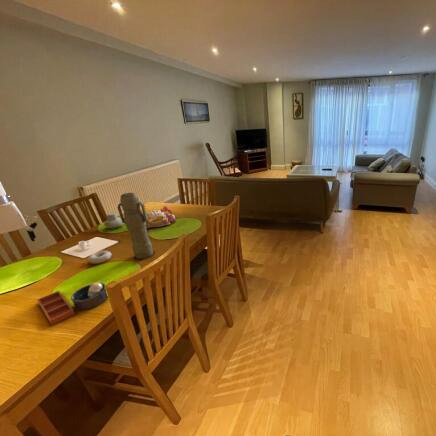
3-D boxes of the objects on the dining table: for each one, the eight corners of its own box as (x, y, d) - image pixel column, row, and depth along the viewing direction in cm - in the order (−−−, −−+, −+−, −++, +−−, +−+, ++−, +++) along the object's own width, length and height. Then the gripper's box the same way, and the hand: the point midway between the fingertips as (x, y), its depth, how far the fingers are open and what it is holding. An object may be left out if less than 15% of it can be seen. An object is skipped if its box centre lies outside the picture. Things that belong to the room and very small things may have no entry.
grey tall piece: (155, 257, 130) (139, 195, 117) (130, 260, 127) (110, 197, 113) (158, 249, 138) (143, 190, 124) (134, 252, 134) (116, 192, 121)
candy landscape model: (178, 224, 171) (175, 212, 167) (140, 232, 159) (136, 219, 156) (173, 213, 190) (171, 202, 187) (139, 219, 179) (136, 208, 175)
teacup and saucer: (88, 243, 145) (85, 237, 143) (97, 245, 142) (95, 239, 141) (71, 250, 137) (69, 244, 136) (81, 252, 135) (78, 246, 133)
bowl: (80, 314, 92) (76, 305, 90) (71, 302, 98) (67, 293, 96) (113, 298, 100) (110, 289, 98) (103, 288, 106) (100, 279, 104)
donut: (98, 255, 132) (84, 265, 123) (96, 249, 131) (82, 259, 122) (116, 254, 133) (104, 264, 123) (114, 249, 131) (102, 258, 122)
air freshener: (126, 225, 169) (122, 212, 165) (115, 230, 162) (111, 216, 158) (114, 223, 172) (110, 210, 168) (103, 228, 165) (99, 214, 161)
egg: (87, 299, 96) (93, 283, 97) (84, 296, 98) (89, 281, 99) (100, 299, 99) (106, 284, 100) (96, 296, 102) (102, 281, 103)
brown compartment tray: (51, 325, 87) (49, 321, 86) (39, 303, 97) (36, 299, 96) (75, 314, 92) (73, 309, 91) (60, 294, 102) (58, 290, 102)
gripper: (25, 193, 90) (44, 234, 97) (-50, 206, 77) (-23, 252, 84) (30, 197, 86) (48, 239, 93) (-49, 211, 73) (-21, 258, 80)
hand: (14, 245), depth 88 cm, fingers open, 9 cm apart
